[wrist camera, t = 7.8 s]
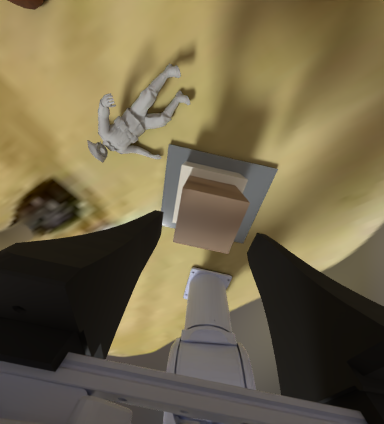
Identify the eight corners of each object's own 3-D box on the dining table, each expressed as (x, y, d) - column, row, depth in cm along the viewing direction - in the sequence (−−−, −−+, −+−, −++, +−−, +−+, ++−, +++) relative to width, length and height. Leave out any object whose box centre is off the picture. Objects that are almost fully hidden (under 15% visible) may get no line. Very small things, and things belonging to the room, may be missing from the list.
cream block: (222, 219, 21) (226, 234, 17) (177, 209, 20) (172, 222, 17) (239, 173, 18) (247, 179, 14) (186, 161, 17) (181, 164, 14)
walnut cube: (221, 225, 16) (228, 254, 12) (181, 216, 16) (172, 242, 12) (235, 185, 14) (250, 202, 10) (189, 175, 14) (182, 187, 10)
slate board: (242, 241, 23) (243, 243, 22) (160, 223, 22) (159, 225, 22) (275, 168, 17) (277, 169, 17) (169, 144, 17) (168, 144, 17)
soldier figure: (200, 127, 17) (131, 190, 18) (179, 114, 19) (119, 171, 20) (171, 38, 10) (60, 145, 11) (145, 34, 13) (54, 123, 13)
